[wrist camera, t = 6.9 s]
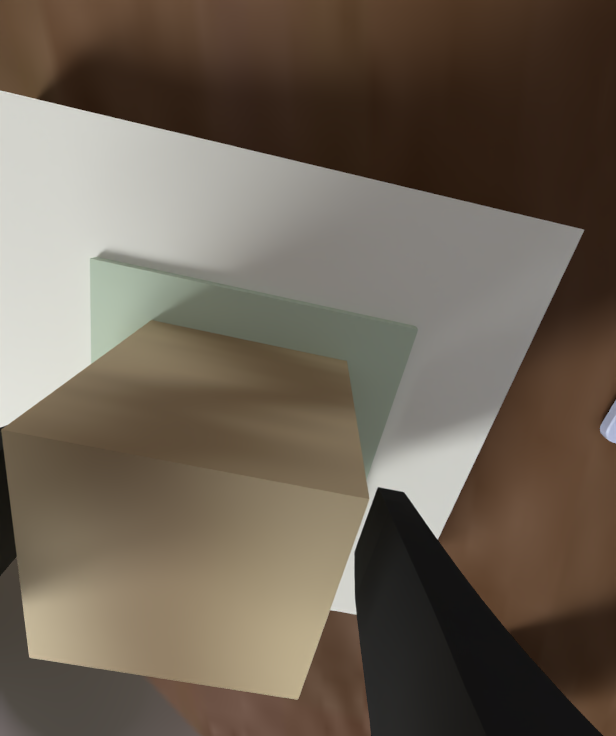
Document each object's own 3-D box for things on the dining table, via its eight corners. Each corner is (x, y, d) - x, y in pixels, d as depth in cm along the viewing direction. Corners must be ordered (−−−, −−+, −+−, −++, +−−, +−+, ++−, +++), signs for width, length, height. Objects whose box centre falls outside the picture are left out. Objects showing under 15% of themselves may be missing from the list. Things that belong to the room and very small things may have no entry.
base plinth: (529, 223, 11) (592, 230, 9) (388, 563, 17) (400, 629, 14) (31, 104, 10) (-65, 73, 8) (55, 504, 16) (5, 563, 13)
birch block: (346, 360, 10) (369, 499, 5) (306, 507, 12) (297, 699, 7) (151, 320, 10) (1, 429, 5) (143, 477, 12) (29, 657, 7)
